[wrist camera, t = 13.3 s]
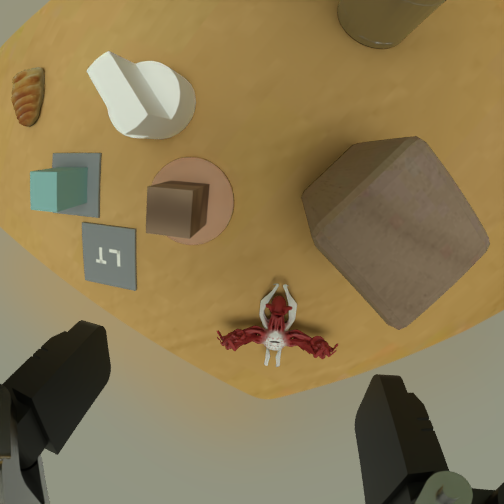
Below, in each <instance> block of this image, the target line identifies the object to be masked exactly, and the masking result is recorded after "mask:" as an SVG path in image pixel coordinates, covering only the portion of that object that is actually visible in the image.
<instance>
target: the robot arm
mask: <svg viewBox="0 0 504 504" xmlns="http://www.w3.org/2000/svg"><path fill="white" fill-rule="evenodd" d="M445 1H446V0H340V2H339V5H338V12H337V13H338V18H339V21H340V23H341V25H342V27H343V28H344V30H345V31H346V32H347V33H348V34H349V35H350V36H351V37H352V38H353V39H355V40H356V41H358V42H360V43H362V44H363V45H366V46H369V47H372V48H379V49H382V48H390V47H393V46H395V45H397V44H399V43H400V42H401V41H402V40H403V39H404V38H405V37H406V36H407V35H409V34H410V33H411V32H412V31H413V30H414V29H415V28H416V27H417V26H418V25H419V24H421V23H422V22H423V21H424V20H425V19H426V18H427V17H428V16H429V15H430V14H431V13H432V12H434V11H435V10H436V9H437V8H438V7H439V6H440V5H441V4H442V3H444V2H445ZM110 372H111V364H110V357H109V351H108V343H107V335H106V330H105V328H104V327H103V326H100V325H97V324H93V323H90V322H86V321H83V320H81V321H79V322H78V323H77V324H76V325H74V326H73V327H72V328H71V329H70V330H69V331H68V332H66V331H64V332H62V333H60V334H58V335H56V336H54V337H52V338H50V339H49V340H48V341H47V342H46V343H45V344H44V345H43V346H42V347H41V349H38V351H36V352H35V353H34V354H33V357H30V358H29V359H28V360H27V361H26V362H25V363H24V364H23V365H22V366H21V367H20V368H19V369H18V370H16V371H15V372H14V374H12V375H11V376H10V377H9V378H8V379H7V380H6V382H4V383H3V384H0V504H50V501H49V496H48V491H47V487H46V481H45V475H44V468H43V462H42V457H41V455H40V454H41V453H42V451H43V450H44V448H45V449H47V450H49V451H51V452H53V453H55V454H59V452H60V450H61V449H62V448H63V446H64V445H65V443H66V441H67V440H68V439H69V437H70V436H71V434H72V433H73V431H74V430H75V428H76V427H77V425H78V424H79V422H80V421H81V420H82V418H83V417H84V415H85V414H86V412H87V411H88V409H89V408H90V407H91V405H92V404H93V402H94V401H95V399H96V398H97V396H98V395H99V394H100V392H101V391H102V389H103V388H104V386H105V385H106V384H107V382H108V380H109V376H110ZM355 433H356V439H357V445H358V452H359V459H360V465H361V472H362V479H363V486H364V495H365V502H366V504H504V483H503V484H502V485H501V486H500V487H499V488H498V489H496V490H483V489H473V488H471V486H470V484H469V483H468V481H467V480H466V479H465V478H464V477H463V476H461V475H459V474H457V473H455V472H451V471H449V469H448V467H447V463H446V461H445V458H444V455H443V452H442V450H441V447H440V444H439V442H438V439H437V436H436V434H435V431H433V426H432V423H431V421H430V420H429V416H428V414H427V411H426V409H425V406H424V404H423V403H422V402H421V401H420V400H419V399H418V398H417V397H416V395H415V394H414V393H407V390H406V388H405V385H404V383H403V380H402V378H401V377H400V376H394V375H378V374H376V375H374V376H373V378H372V380H371V382H370V385H369V387H368V389H367V391H366V393H365V396H364V398H363V400H362V402H361V404H360V407H359V409H358V411H357V414H356V419H355Z"/></svg>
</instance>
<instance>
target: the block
mask: <svg viewBox="0 0 504 504" xmlns="http://www.w3.org/2000/svg"><path fill="white" fill-rule="evenodd" d="M301 198H302V202H303V205H304V209H305V213H306V216H307V220H308V224H309V228H310V232H311V235H312V238H313V241H314V243H315V246H316V247H317V248H318V250H319V251H320V252H321V253H322V254H323V255H324V256H325V257H326V258H327V259H328V260H329V261H330V262H331V263H332V264H333V265H334V266H335V267H336V269H337V270H338V271H339V272H340V273H341V274H342V275H343V276H344V277H345V278H346V279H347V280H348V281H349V282H350V284H351V285H352V286H353V287H354V288H355V289H356V290H357V291H358V292H359V293H360V294H361V296H362V297H363V298H364V299H365V300H366V301H367V302H368V303H369V304H370V305H371V307H372V308H373V309H374V310H375V311H376V312H377V313H378V314H379V315H380V317H381V318H382V319H383V320H384V321H385V322H386V323H387V324H388V325H390V326H392V327H394V328H396V329H398V330H400V329H402V328H404V327H407V326H408V325H409V324H410V323H411V322H413V321H414V320H415V319H416V318H417V317H418V316H420V315H421V314H422V313H423V312H424V311H425V310H426V309H428V308H429V307H430V306H431V305H432V304H433V303H434V302H435V301H437V300H438V299H439V298H440V297H441V296H442V295H443V294H444V293H445V292H446V291H447V290H448V289H449V288H451V287H452V286H453V285H454V284H455V283H456V282H457V281H458V280H459V279H460V278H461V277H462V276H463V275H464V274H465V273H466V272H467V271H468V270H469V269H470V268H471V267H472V266H473V265H474V264H475V263H476V262H477V261H478V260H479V259H480V258H481V257H482V256H483V254H484V253H485V252H486V251H487V249H488V247H489V245H490V242H489V237H488V235H487V233H486V231H485V229H484V228H483V226H482V224H481V222H480V221H479V219H478V217H477V216H476V214H475V212H474V211H473V209H472V207H471V206H470V204H469V203H468V201H467V200H466V198H465V196H464V195H463V193H462V192H461V190H460V189H459V187H458V186H457V184H456V183H455V181H454V180H453V178H452V177H451V176H450V174H449V173H448V171H447V170H446V168H445V167H444V166H443V164H442V163H441V161H440V160H439V159H438V157H437V156H436V155H435V153H434V152H433V151H432V149H431V148H430V147H429V145H428V144H427V143H426V142H425V141H423V140H422V139H420V138H418V137H417V136H414V137H404V138H395V139H387V140H379V141H371V142H363V143H358V144H355V145H352V146H351V147H350V148H349V149H348V150H347V151H346V152H345V153H344V154H343V155H342V156H341V157H340V158H339V159H338V160H337V161H336V162H335V163H333V164H332V165H331V166H330V167H329V168H328V169H327V170H326V171H325V172H324V173H323V174H322V175H321V176H320V177H319V178H318V179H317V180H316V181H315V182H314V183H312V184H311V185H310V186H309V187H308V188H307V189H306V190H305V191H304V193H303V195H302V197H301Z"/></svg>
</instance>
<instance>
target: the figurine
mask: <svg viewBox="0 0 504 504" xmlns="http://www.w3.org/2000/svg"><path fill="white" fill-rule="evenodd" d="M273 285H276V286H275V288H274V289H273V290H272V291H271V292H270V293H269V294H268V295H267V296H265V297H264V298H263V299H262V300H261V303H260V319H261V321H262V324H263V326H264V328H261V327H259V326H252V327H250V328H247V329H244V330H241V329H236V330H234V331H233V332H230V333H228V334H227V335H226V336H221V333H220V332H219V331H217V333H218V334H219V335H220V338H221V340H222V341H223V342H222V343H221V340H220V339H219V338H218V337H217V339H218V340H220V343H221V345H222V346H224V345H225V347H226V349H227V350H229V349H231V348H232V349H233V350H234V351H236V350H237V349H238V348H239V347H240V346H242V345H243V344H244V345H245V344H247V343H250V342H252V341H253V342H255V343H257V344H264V345H265V347H267V349H266V357H265V362H264V365H266V366H268V361H269V359H270V353H269V349H270V350H278V352H277V355H276V367H278V366H280V355H281V349H282V348H283V347H284V346H289V347H293V346H299V347H300V348H301V349H302V350H303V351H304V350H305V351H307V352H308V353H309V354H310V353H311V354H313V356H314V358H317V357H318V356H319V357H320V358H321V359H324V358H325V355H327V356H328V357H330V356H331V355H332V354H333V353H335V352H336V350H335V351H334V349H335V348H336V347H337V346H338V344H336V345H335V347H334V348H332V347H330V346H329V345H328V343H327V342H326V341H325V340H324V339H323V338H322V337H321V336H315V337H313V338H311V337H309V336H307V335H306V334H304V333H303V332H301V331H299V330H290V331H288V330H289V328H290V326H291V325H292V323H293V322H294V320H295V316H296V309H297V303H296V302H295V301H294V299H293V298H292V297H291V295H290V294H289V291H288V289H287V286H288V285H286V284H284V285H283V288H284V290H285V292H286V296H287V300H288V303H289V306H286V300H285V299H284V297H282V296H276V297H275V298H274V299H273V300H272V303H271V304H268V302H269V301H270V299H271V297H272V296H273V294H274V293H275V291H276V290H277V288H278V287H279V284H273ZM265 307H267V308H269V310H270V311H271V313H272V315H271V318H270V319H267V318H266V316H265V314H264V309H265ZM288 311H289V319H288V320H287V321H286V322H284V315H285V314H286V313H287V312H288ZM273 321H274V323H273ZM279 325H280V326H279ZM257 334H258V335H257ZM292 338H293V339H292ZM293 343H294V344H293ZM333 351H334V352H333ZM330 352H333V353H332V354H330Z"/></svg>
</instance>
